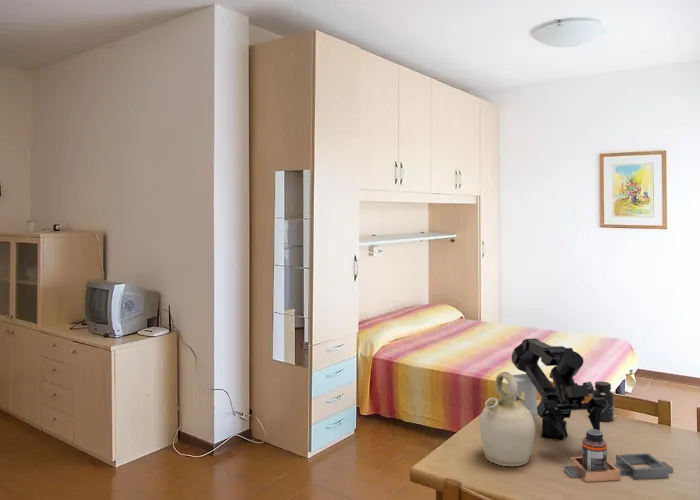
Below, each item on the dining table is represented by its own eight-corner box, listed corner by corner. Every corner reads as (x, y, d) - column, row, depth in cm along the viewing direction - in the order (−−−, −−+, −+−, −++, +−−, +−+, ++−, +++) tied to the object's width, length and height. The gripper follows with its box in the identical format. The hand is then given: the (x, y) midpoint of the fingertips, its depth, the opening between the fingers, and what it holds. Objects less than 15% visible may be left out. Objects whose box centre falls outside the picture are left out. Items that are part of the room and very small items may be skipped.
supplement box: (537, 415, 194) (537, 379, 194) (517, 417, 193) (517, 381, 192) (527, 408, 202) (527, 373, 201) (507, 410, 200) (507, 374, 199)
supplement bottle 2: (582, 466, 156) (582, 426, 155) (605, 469, 154) (606, 428, 153) (582, 476, 151) (582, 434, 150) (606, 479, 148) (607, 437, 147)
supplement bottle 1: (616, 422, 186) (616, 386, 186) (593, 421, 188) (594, 386, 187) (610, 415, 193) (611, 380, 192) (589, 414, 194) (589, 379, 194)
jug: (492, 472, 154) (492, 382, 152) (471, 449, 169) (470, 366, 167) (545, 467, 156) (545, 378, 154) (519, 444, 171) (519, 363, 169)
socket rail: (574, 482, 147) (574, 473, 147) (559, 466, 156) (559, 457, 156) (679, 477, 149) (679, 467, 148) (658, 461, 158) (658, 452, 158)
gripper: (542, 373, 161) (559, 426, 151) (605, 370, 163) (626, 422, 153) (531, 391, 170) (546, 442, 160) (591, 388, 171) (610, 438, 161)
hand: (582, 436), depth 158 cm, fingers open, 9 cm apart
